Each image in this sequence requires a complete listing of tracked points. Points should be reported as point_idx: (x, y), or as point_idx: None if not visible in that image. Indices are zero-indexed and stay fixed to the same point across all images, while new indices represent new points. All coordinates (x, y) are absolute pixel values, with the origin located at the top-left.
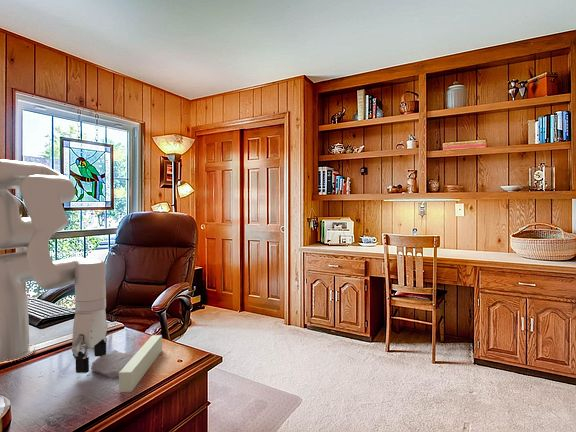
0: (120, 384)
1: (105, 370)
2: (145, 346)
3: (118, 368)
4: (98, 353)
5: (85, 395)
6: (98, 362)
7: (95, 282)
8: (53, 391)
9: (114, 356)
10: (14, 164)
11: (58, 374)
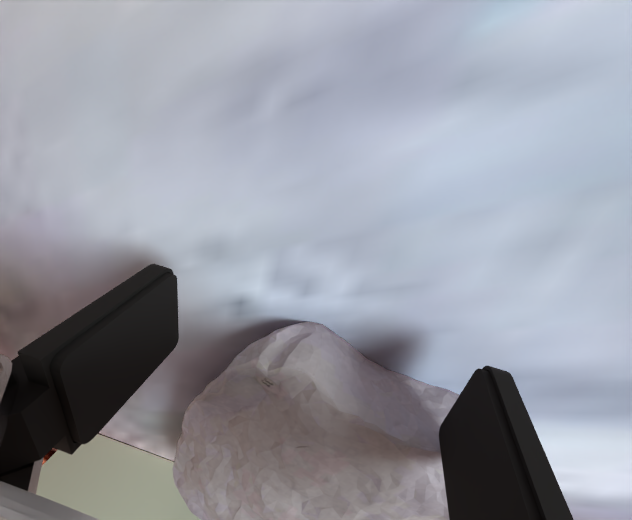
0: (48, 463)
1: (205, 416)
2: None
3: (185, 478)
4: (469, 418)
5: (34, 320)
6: (281, 404)
7: None
8: (28, 132)
9: (339, 496)
10: None
11: (294, 42)
